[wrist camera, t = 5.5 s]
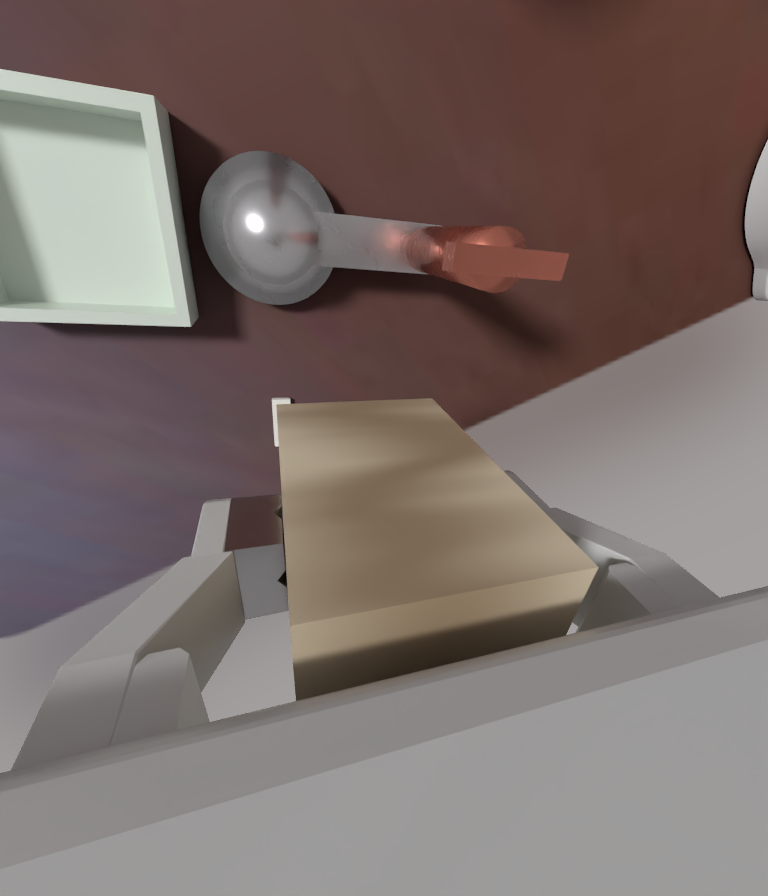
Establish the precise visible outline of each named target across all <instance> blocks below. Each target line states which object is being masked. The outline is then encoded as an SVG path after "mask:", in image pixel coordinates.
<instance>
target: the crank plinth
mask: <svg viewBox="0 0 768 896" xmlns="http://www.w3.org/2000/svg"><path fill="white" fill-rule="evenodd" d="M256 180H272V181H276V182H279V183H282V184H284V185H286V186H288V187H290V188H291V189H293V190H294V191H295V192H296V193H297V194H299V195H300V196H301V197H302V199H303V200H304V201H305V202H306V204H307V205H308V206H309V208H310V210H311V211H316V212H325V213H334V210H333V207H332V205H331V202H330V200H329V198H328V196H327V194H326V192H325V191H324V189H323V188H322V186H321V185H320V184H319V182H318V181H317V180H316V179H315V178H314V176H313V175H311V174H310V173H309V172H308V171H307V170H306V169H305V168H304V167H302V166H301V165H300V164H298V163H297V162H295V161H293V160H291V159H290V158H288V157H285V156H283V155H280V154H277V153H272V152H268V151H251V152H246V153H242V154H239V155H236V156H234V157H232V158H230V159H229V160H227V161H226V162H224V163H223V164H222V165H221V166H220V167H219V168H218V169H217V170H216V171H215V172H214V173H213V175H212V176H211V177H210V179H209V181H208V183H207V185H206V187H205V189H204V192H203V195H202V199H201V204H200V216H199V219H200V230H201V235H202V239H203V243H204V246H205V249H206V251H207V253H208V256H209V258H210V260H211V261H212V263H213V265H214V266H215V268H216V269H217V271H218V272H219V273H220V275H221V276H222V277H223V278H224V279H225V280H226V281H227V282H228V283H229V284H230V285H231V286H232V287H233V288H235V289H236V290H237V291H239V292H240V293H242V294H243V295H245V296H247V297H249V298H251V299H253V300H256V301H259V302H262V303H266V304H273V305H286V304H292V303H295V302H299V301H301V300H303V299H306V298H308V297H309V296H311V295H312V294H314V293H315V292H316V291H317V290H318V289H319V288H320V287H321V286H322V285H323V284H324V283H325V281H326V280H327V278H328V277H329V275H330V273H331V271H332V269H333V267H325V266H311V267H310V269H309V270H308V271H307V272H306V273H305V274H304V275H303V276H302V277H301V278H299V279H298V280H296V281H294V282H291V283H288V284H283V285H273V284H267V283H263V282H261V281H258V280H256V279H254V278H253V277H251V276H250V275H248V274H247V273H246V272H245V271H244V270H242V269H241V268H240V266H239V265H238V264H237V263H236V261H235V260H234V259H233V257H232V255H231V253H230V252H229V249H228V247H227V244H226V241H225V237H224V230H223V220H224V213H225V209H226V207H227V204H228V202H229V200H230V198H231V197H232V196H233V194H234V193H235V192H236V191H237V190H238V189H239V188H240V187H242V186H243V185H245V184H247V183H249V182H252V181H256ZM334 214H335V213H334Z"/></svg>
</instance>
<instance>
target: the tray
mask: <svg viewBox="0 0 768 896" xmlns="http://www.w3.org/2000/svg"><path fill="white" fill-rule="evenodd" d="M198 318H199V315H198V309H197V302H196V295H195V289H194V282H193V275H192V269H191V262H190V255H189V249H188V242H187V235H186V229H185V222H184V215H183V209H182V202H181V195H180V189H179V182H178V175H177V169H176V162H175V155H174V149H173V142H172V135H171V129H170V122H169V115H168V111H167V110H166V109H165V108H164V107H163V105H162V104H161V103H160V102H159V101H158V100H157V99H156V98H155V97H154V96H153V95H147V94H142V93H136V92H130V91H124V90H118V89H113V88H107V87H101V86H95V85H89V84H84V83H78V82H72V81H66V80H61V79H55V78H49V77H43V76H37V75H32V74H26V73H20V72H14V71H8V70H3V69H0V321H18V322H50V323H82V324H114V325H145V326H177V327H191V326H192V325H193V324H194V323H195V321H196V320H197V319H198Z"/></svg>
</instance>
